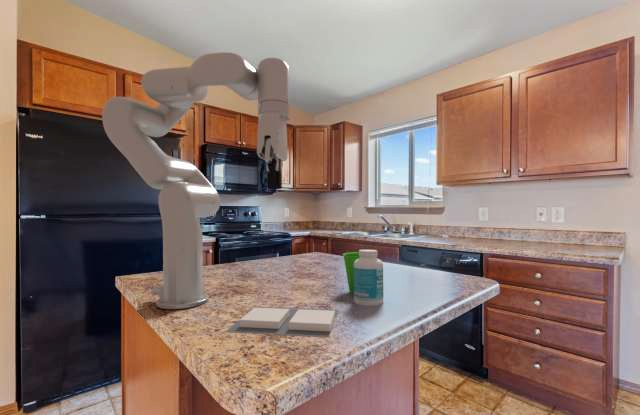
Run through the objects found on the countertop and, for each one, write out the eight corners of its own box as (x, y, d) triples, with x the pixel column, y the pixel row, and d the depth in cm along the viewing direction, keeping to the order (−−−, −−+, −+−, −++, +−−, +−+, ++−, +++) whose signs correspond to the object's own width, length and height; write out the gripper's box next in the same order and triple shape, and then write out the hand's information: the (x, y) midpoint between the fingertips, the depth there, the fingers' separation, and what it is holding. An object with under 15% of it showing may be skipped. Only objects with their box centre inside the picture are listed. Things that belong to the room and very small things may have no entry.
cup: (379, 290, 92) (378, 253, 92) (366, 298, 84) (365, 257, 84) (351, 287, 96) (351, 251, 97) (337, 293, 89) (336, 255, 89)
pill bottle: (383, 308, 74) (382, 252, 75) (352, 307, 76) (352, 251, 76) (383, 300, 82) (382, 248, 82) (355, 298, 83) (354, 248, 83)
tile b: (298, 316, 68) (289, 330, 60) (298, 309, 68) (289, 322, 60) (335, 318, 66) (330, 332, 58) (335, 310, 66) (330, 324, 58)
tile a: (254, 314, 69) (239, 327, 61) (254, 307, 69) (239, 319, 61) (289, 316, 68) (279, 329, 60) (289, 308, 68) (279, 321, 60)
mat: (225, 334, 59) (225, 331, 59) (255, 309, 75) (255, 306, 75) (328, 340, 56) (328, 337, 56) (338, 312, 72) (337, 309, 72)
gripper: (268, 122, 83) (269, 191, 83) (247, 103, 68) (247, 186, 68) (296, 121, 82) (296, 190, 82) (280, 101, 67) (280, 185, 67)
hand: (274, 188), depth 75 cm, fingers closed
